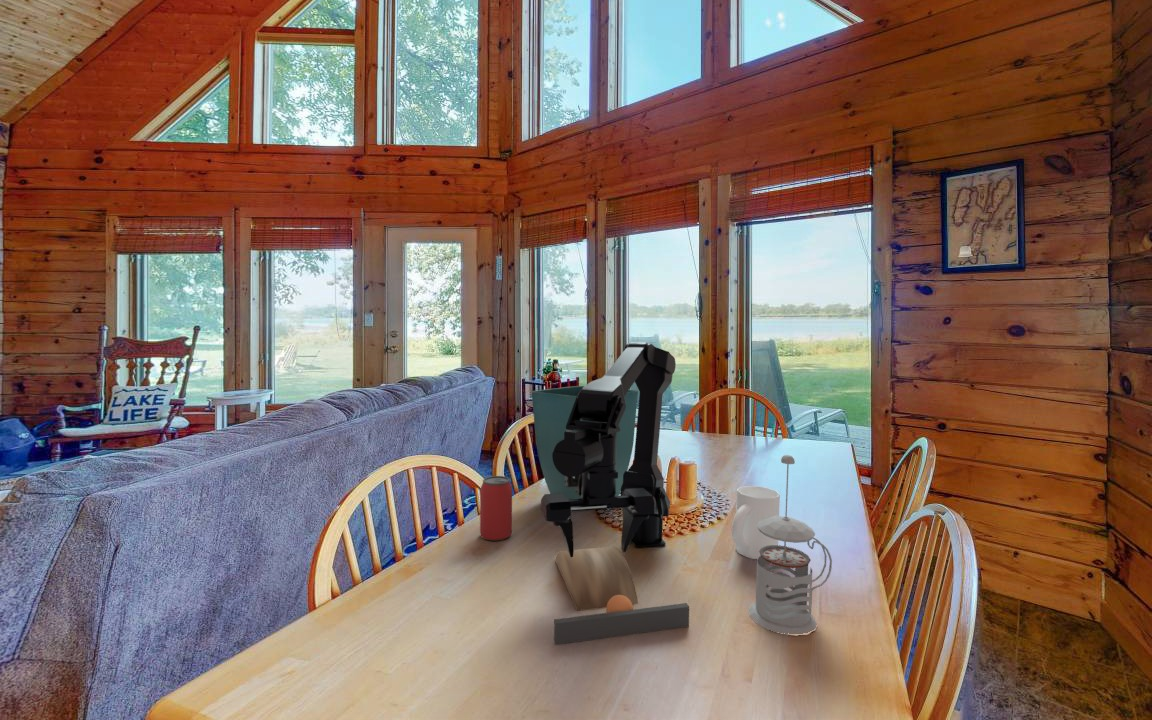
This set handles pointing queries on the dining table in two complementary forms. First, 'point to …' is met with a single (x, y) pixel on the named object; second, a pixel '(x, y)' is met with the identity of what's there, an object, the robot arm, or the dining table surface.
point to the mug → (753, 519)
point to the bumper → (620, 623)
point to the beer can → (496, 508)
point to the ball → (619, 604)
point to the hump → (596, 576)
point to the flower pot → (551, 426)
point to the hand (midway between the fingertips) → (597, 553)
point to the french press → (785, 575)
